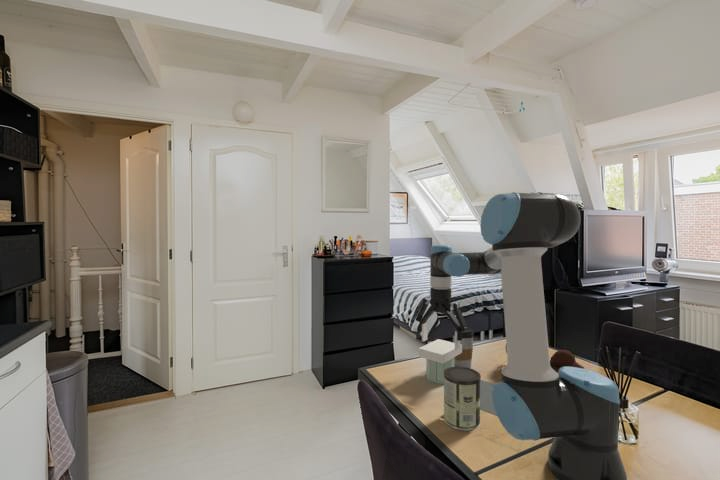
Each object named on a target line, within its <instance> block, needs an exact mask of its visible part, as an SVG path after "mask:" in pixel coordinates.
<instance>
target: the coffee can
mask: <svg viewBox="0 0 720 480" xmlns="http://www.w3.org/2000/svg"><path fill="white" fill-rule="evenodd" d="M481 378H482V376H481V374H480V372H479V371H477V370H475V369H473V368H471V367H469V368H466V367H457V366H454V367H450V368H447V369H445V370H444V384H443V420H444V423H445V424H446V425H447V426H448V427H450V428H452V429H454V430H458V431H461V432H471V431H473V430H476V429H477V428H479V427H480V425H481V410H480V380H482V379H481Z"/></svg>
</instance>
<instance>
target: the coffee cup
mask: <svg viewBox="0 0 720 480" xmlns="http://www.w3.org/2000/svg"><path fill="white" fill-rule="evenodd" d="M455 331H457V330H456V328H455V327H454V328H453V330H452V342H453V343H455ZM474 338H475V335H474V331H473V328H471V327H468V329H467V330H465V331H463V339H462V340H461V341H460V344H461V345H462V353H461V354H459V355H457V356H455V363H454V366H455V367H466V368H471V367H472V361H473V349H474V345H473V344H474Z"/></svg>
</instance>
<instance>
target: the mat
mask: <svg viewBox="0 0 720 480" xmlns="http://www.w3.org/2000/svg"><path fill="white" fill-rule="evenodd" d="M495 384H496V383H493V382H489V381H485V380H483V379H480V411H482V412H486V413H487V414H491V415H494V416H495V417H498V416H497V414H496V411H495V408H494V404H493V399H492V390H493V388H494V385H495Z"/></svg>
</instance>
